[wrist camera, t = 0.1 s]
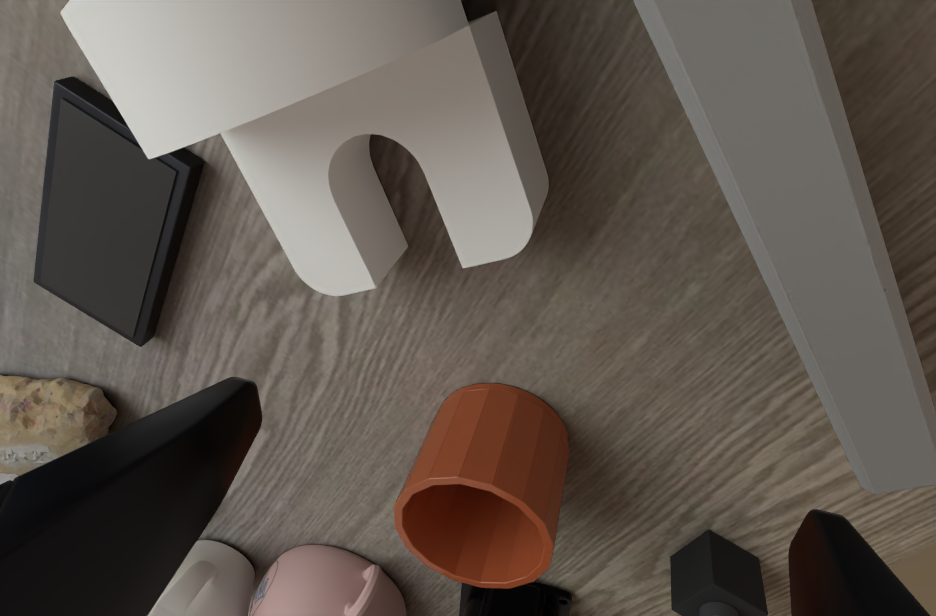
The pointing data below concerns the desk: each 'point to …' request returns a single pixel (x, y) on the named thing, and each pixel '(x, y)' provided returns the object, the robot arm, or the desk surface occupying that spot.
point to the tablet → (109, 214)
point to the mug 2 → (326, 586)
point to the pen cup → (486, 488)
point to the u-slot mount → (332, 116)
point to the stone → (48, 420)
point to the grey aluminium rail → (805, 217)
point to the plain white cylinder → (717, 609)
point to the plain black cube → (716, 577)
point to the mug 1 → (208, 584)
